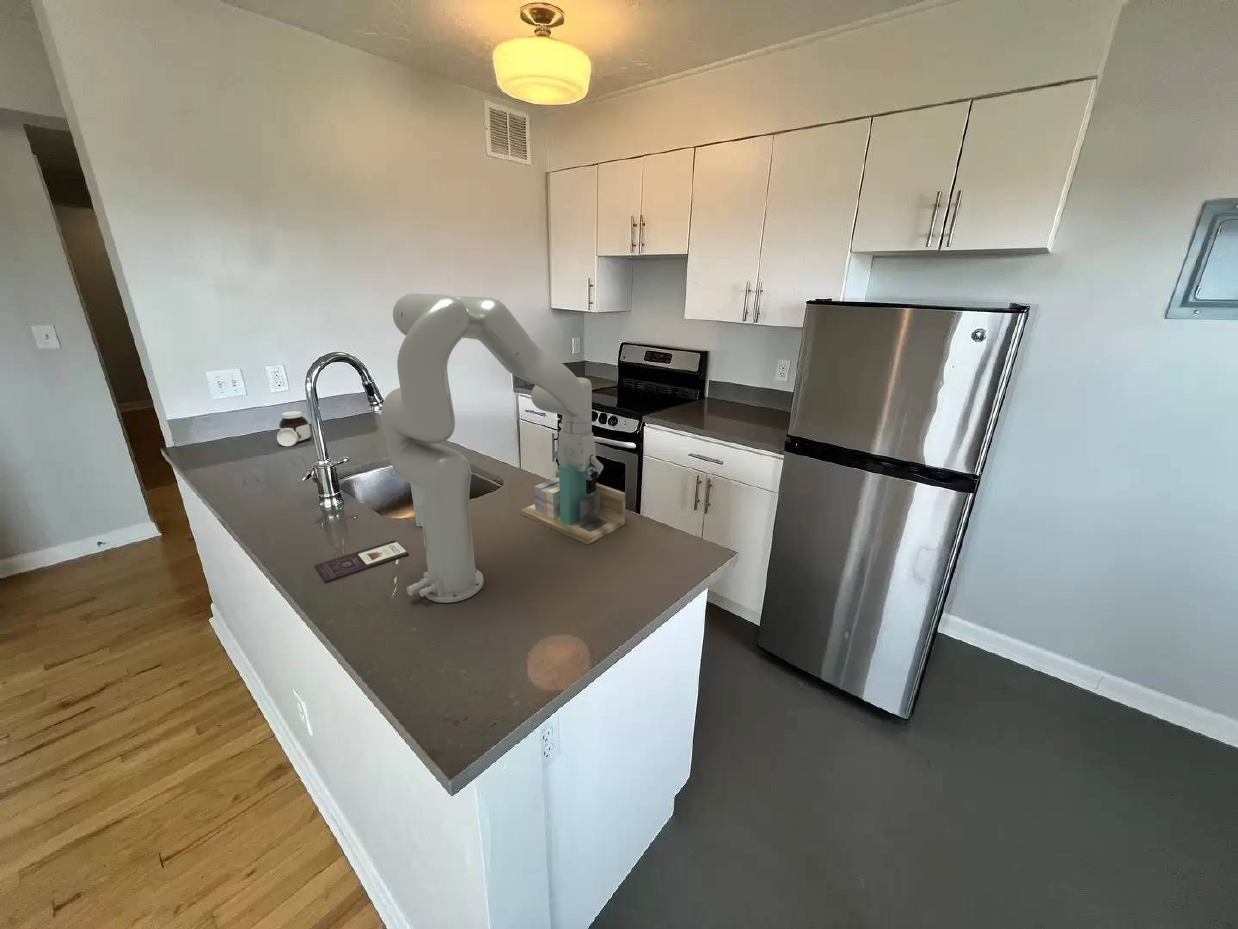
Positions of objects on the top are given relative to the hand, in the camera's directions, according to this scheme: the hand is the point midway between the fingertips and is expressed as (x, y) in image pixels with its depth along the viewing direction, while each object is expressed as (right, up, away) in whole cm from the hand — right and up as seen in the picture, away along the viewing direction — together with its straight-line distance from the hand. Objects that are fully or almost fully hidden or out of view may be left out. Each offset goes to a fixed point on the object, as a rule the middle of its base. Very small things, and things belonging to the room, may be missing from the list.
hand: (577, 487), depth 135 cm
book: (0, -8, +3) cm, 9 cm away
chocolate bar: (-49, -17, -17) cm, 55 cm away
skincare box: (-40, -9, +3) cm, 41 cm away
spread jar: (-119, +15, +66) cm, 136 cm away
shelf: (-2, -9, +5) cm, 11 cm away
